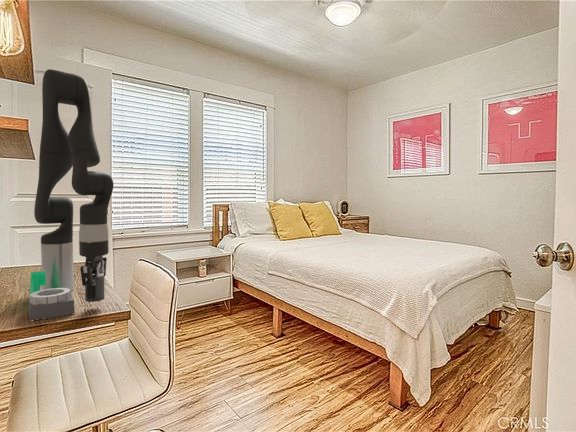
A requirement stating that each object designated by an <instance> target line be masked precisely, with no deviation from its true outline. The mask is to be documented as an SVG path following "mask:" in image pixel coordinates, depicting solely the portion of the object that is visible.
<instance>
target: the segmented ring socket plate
mask: <svg viewBox="0 0 576 432" xmlns="http://www.w3.org/2000/svg"><path fill="white" fill-rule="evenodd" d="M27 303H28V304H27V306H28V307H27V308H28V309H27V310H28V311H29V312H28V311H27V312H28V317H29V316H30V317H29V322H30V321H31V320H37V319H43V318H49V319H54V318H58V316H60V317H63V316H62V315H65V316H68V315H67V314H70V315H73V314H72V313H74V314H75V299H74V298H73V296H72V291H71V290H70V289H69V288H51V289H45V290H42V289H40V291H36V292H33V293H31V294H30V293H29V297H28V298H27ZM53 317H54V318H53ZM43 320H44V319H43Z"/></svg>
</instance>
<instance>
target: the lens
mask: <svg viewBox="0 0 576 432" xmlns="http://www.w3.org/2000/svg"><path fill="white" fill-rule="evenodd" d="M92 275H94V274H92ZM85 280H86V278H85ZM84 292H85V293H84V297H85V298H84V300H85V302H89V303H94V302H101V301H102V300H104V299H105V276H104V273H99V275H98V277H97V278H96V297H95V298H93V299H88V298H87V287H86V286H84Z"/></svg>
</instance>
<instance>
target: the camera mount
mask: <svg viewBox="0 0 576 432" xmlns="http://www.w3.org/2000/svg"><path fill="white" fill-rule="evenodd" d="M45 284H46V275H45V271H42V270H41V271H32V272H31V273H30V283H29V295H30V294H31V293H33V292H36V291H40V290H41V287H42V285H45Z"/></svg>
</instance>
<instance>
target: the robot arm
mask: <svg viewBox="0 0 576 432" xmlns="http://www.w3.org/2000/svg"><path fill="white" fill-rule="evenodd" d="M41 85H42V88H41V90H42V91H41V93H42V95H41V96H42V97H41V98H42V125H41V136H40V145H39V160H38V161H39V162H38V181H37V182H38V183H37V189H36V194H35V195H36V196H35V199H34V201H35V202H34V210H33V212H34V213H33V214H34V220H35V221H36V222H37V223H38V224H41V225H49V224H50V225H51V224H55V225H56V224H59V227H58V228H56V229H55V230H53V231H51V232H48V233H44V234H43V235H41V236H40V252H41V253H40V256H41V260H40V261H41V271H45V275H46V284H45V285H41V287H42V288H41V290H45V289H51V288H69V289H70V290H71V292H72V291H73V290H75V285H74V284H75V281H74V279H75V275H74V244H73V243H74V242H73V241H74V240H73V239H74V237H73V236H74V227H73V226H74V204H73V203H74V202H73V201H72V199H71V198H70V197H67V196H66V197H65V196H64V197H63V196H57V197H56V196H51V194H52V191H53V190H54V188H55V187H56V185H57V184H58V183H59V182H60V181H61V180H62V179H63V178H64V177H65V176H66V175H67V174H68V173H69V172H70V171H71V169H72V174H71V187H72V190H73V191H74V192H75V193H76V194H77V195H79V196H94V198H93V200H92V201H91V202H89V203H84V204H81V205H80V207H79V230H78V247H79V248H78V249H79V250H78V251H79V252H78V254H79V256H81V257H85V262H84V265H81V266H80V270H79V271H80V278H81V284H82V286H84V287H85V286H86V287H87V298H88V299H93V298H95V297H96V278H97V277H98V275H99V273H104V277H106V274H107V262H108V260H107V259H108V258H107V257H103V256H107V255H109V249H110V248H109V229H108V209H109V204H110V200H111V198H112V194H113V191H114V180H113V178H112V175H110V174H109V173H108V172H105V171H93V170H91V171H90V170H88V168H92V167H96V166H97V165H99V163H100V162H101V156H100V153H99V149H98V146H97V142H96V138H95V134H94V129H93V128H94V126H93V116H92V115H93V114H92V105H91V97H90V91H89V90H90V89H89V86H88V85H89V84H88V82H87V81H86V79H85V78H84V77H83V76H82V75H78V74H76V73H72V72H71V73H70V72H65V71H60V70H57V69H52V68H51V69H47V70H45V71H44V74H43V77H42V83H41ZM59 104H64V105H69V106H75V107H76V109H77V116H76V119H75V121H74V123H73V124H72V126H71V128H70V130H69V132H68V131H67V130H68V129H66V127H65V125H64V124H63V122H62V120H61V117H60V113H59ZM92 274H94V275H92ZM85 278H86V280H85Z"/></svg>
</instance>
